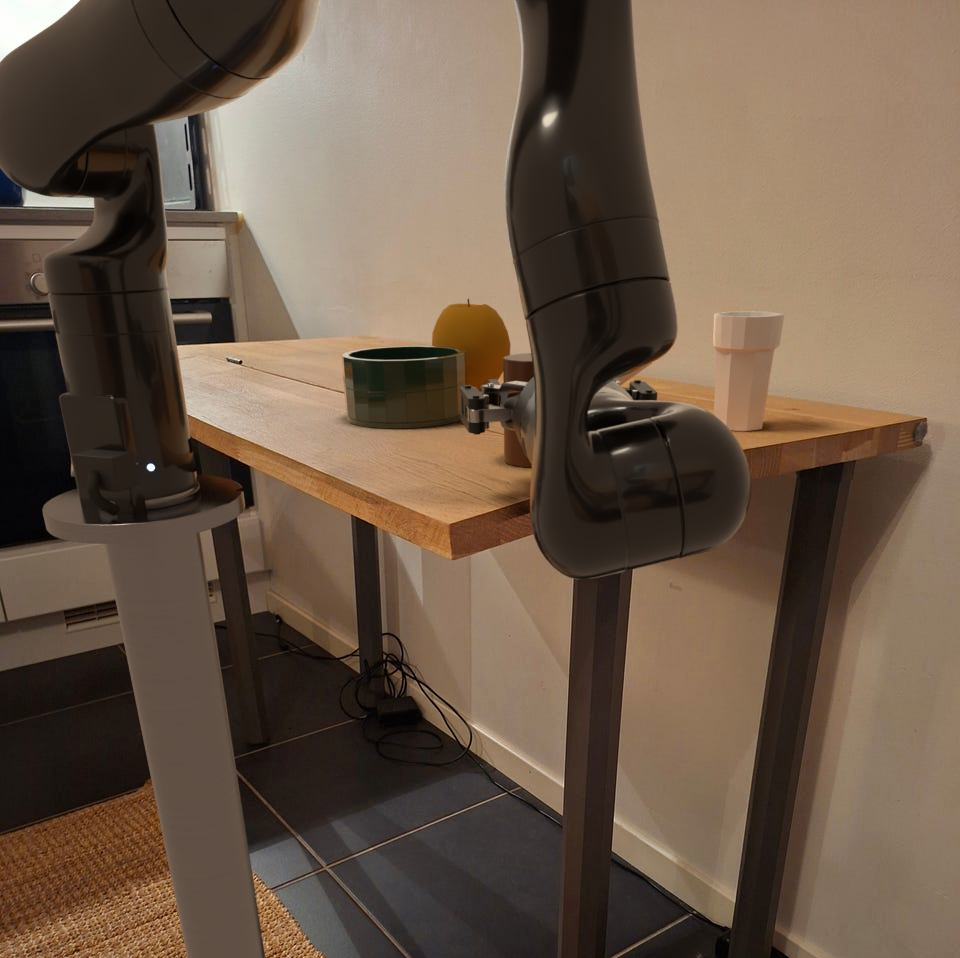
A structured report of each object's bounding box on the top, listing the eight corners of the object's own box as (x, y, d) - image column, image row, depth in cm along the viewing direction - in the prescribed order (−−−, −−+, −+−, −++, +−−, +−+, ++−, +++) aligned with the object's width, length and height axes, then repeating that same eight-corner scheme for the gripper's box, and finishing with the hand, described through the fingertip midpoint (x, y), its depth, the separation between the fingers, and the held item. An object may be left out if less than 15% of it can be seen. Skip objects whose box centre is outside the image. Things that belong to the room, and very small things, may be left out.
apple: (525, 396, 114) (526, 297, 109) (475, 407, 107) (472, 302, 103) (468, 389, 120) (466, 295, 115) (417, 399, 113) (412, 299, 108)
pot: (436, 431, 94) (433, 362, 92) (324, 424, 99) (318, 358, 96) (485, 409, 106) (484, 347, 103) (382, 404, 111) (378, 344, 108)
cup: (693, 427, 94) (702, 315, 89) (724, 417, 98) (734, 310, 94) (752, 435, 90) (764, 318, 85) (782, 424, 94) (795, 313, 90)
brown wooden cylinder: (554, 469, 78) (556, 361, 75) (495, 465, 80) (493, 360, 77) (574, 455, 83) (576, 353, 79) (516, 451, 85) (516, 352, 81)
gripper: (689, 367, 58) (631, 340, 73) (468, 373, 57) (455, 345, 72) (680, 481, 61) (627, 433, 76) (471, 489, 60) (458, 439, 75)
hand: (543, 390), depth 74 cm, fingers open, 8 cm apart
